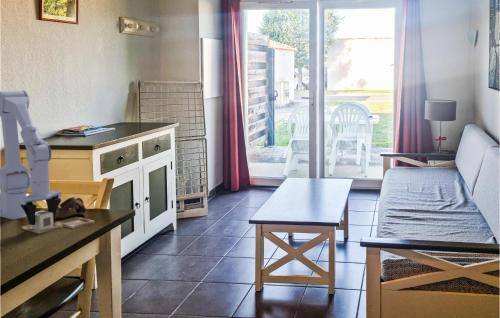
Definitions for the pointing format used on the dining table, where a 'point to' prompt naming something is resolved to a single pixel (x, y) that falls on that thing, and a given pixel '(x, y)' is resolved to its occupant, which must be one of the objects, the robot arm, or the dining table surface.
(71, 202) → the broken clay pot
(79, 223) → the tray far
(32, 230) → the tray near
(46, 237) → the dining table surface
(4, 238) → the dining table surface
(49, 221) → the white marked cube
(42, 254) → the dining table surface
